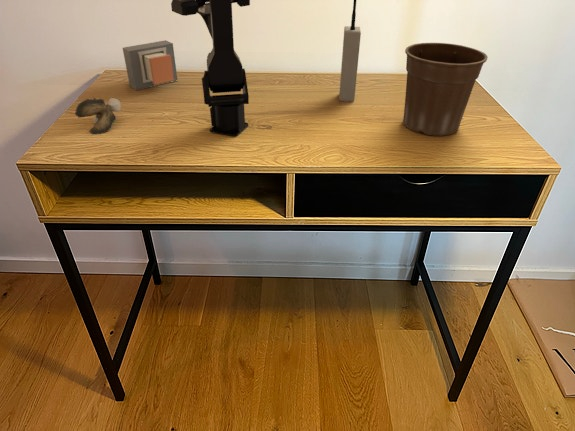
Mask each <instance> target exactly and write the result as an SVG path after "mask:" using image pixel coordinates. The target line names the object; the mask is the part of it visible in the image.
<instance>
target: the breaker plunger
mask: <svg viewBox="0 0 575 431" xmlns="http://www.w3.org/2000/svg"><path fill="white" fill-rule="evenodd" d="M142 59H143V65H144V71H145V77H146V78H148V79H150V80H151V81H153V84H160V83H164V82H169V81H173V80H174V77H173V69H172V62H171V55H169V54H168V55H165V54H163V53H161V52H154V53H149V54H143V55H142Z"/></svg>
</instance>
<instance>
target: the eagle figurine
mask: <svg viewBox="0 0 575 431" xmlns="http://www.w3.org/2000/svg"><path fill="white" fill-rule="evenodd" d="M121 107H122V105H121V101H120V100H119V99H117V98H113V97H111V98H109V100H108V102H107V104H106V102H105V101H104V99H102V98H99V99H97V98H96V97H92V98H91V99H89V98H86V99H84V100H83V101H81V102H79V103H78V104H77V106H76V109H75V112H74V115H75V116H76V117H77V118H87V117H92V116H94V119H93V120H92V122H93V126H92V127H91V128H90V129H89V133H90V134H92V135H94V136H95V135H96V136H97V135H101V134H105V133H107V132H108V131H110V129H111V128H112V125H113V123H114V122H115V121H116V119H117V118H116V117H117V116H116V115H115V113H117V112H120V111H121ZM113 112H115V113H113Z"/></svg>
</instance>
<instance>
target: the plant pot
mask: <svg viewBox="0 0 575 431" xmlns="http://www.w3.org/2000/svg"><path fill="white" fill-rule="evenodd" d="M404 53H405V54H406V66H405V69H406V73H407V74H406V85H405V95H404V96H405V97H404V98H405V99H404V109H403V110H404V111H403V118H402V121H403V124H404V126H405V127H406V128H407V129H409V130H411V131H412V132H416V133H419V132H422V133H424V134H425V135H427V136H436V137H437V136H438V137H441V136H449V135H453V134H456V133H457V131H458V130H459V129H460V125H461V122H462V121H463V120H462V119H463V116H464V114H465V112H466V108H467V107H468V106H467V105H468V103H469V100H470V97H471V94H472V92H473V88H474V87H475V83H476V80H477V79H478V78H479V76H480V74H481V71H482V68H483V65H484V64H485V63H486V62H487V60H488V58H489V57H488V55H487V53H485V52H484V51H481V50H479V49H476V48H474V47H470V46H466V45H462V44H454V43H446V42H421V43H419V42H418V43H414V44H411V45H408V46H406V48H405V51H404Z"/></svg>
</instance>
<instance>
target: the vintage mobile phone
mask: <svg viewBox="0 0 575 431" xmlns="http://www.w3.org/2000/svg"><path fill="white" fill-rule="evenodd" d="M352 4H353V6H352V14H351V21H350V22H351V23H350V26H347V25H345V26H344V28H343V31H344V32H343V40H342V41H343V42H342V56H341V68H340V79H339V80H340V82H339V92H338V93H339V94H338V95H339V96H338V98H339V99H338V100H339V102H351V103H352V102H353V103H354V101H355V98H356V88H357V76H358V67H359V55H360V46H361V38H362V37H361V34H362V32H361V27H360V26H356V18H357V16H356V14H357V12H356V9H357V0H353V3H352Z"/></svg>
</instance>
